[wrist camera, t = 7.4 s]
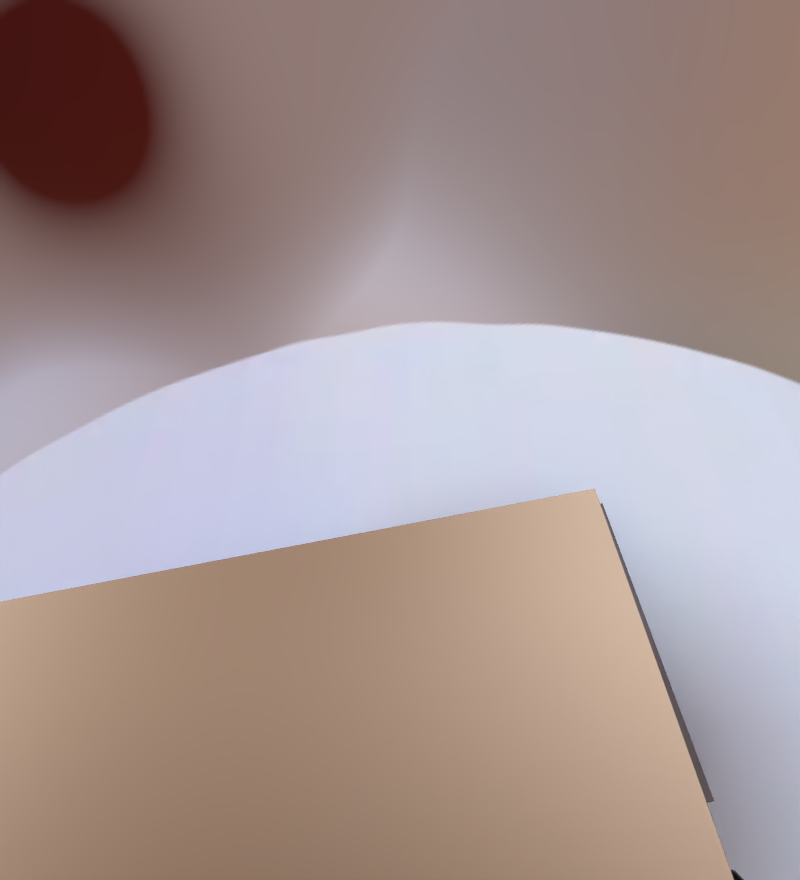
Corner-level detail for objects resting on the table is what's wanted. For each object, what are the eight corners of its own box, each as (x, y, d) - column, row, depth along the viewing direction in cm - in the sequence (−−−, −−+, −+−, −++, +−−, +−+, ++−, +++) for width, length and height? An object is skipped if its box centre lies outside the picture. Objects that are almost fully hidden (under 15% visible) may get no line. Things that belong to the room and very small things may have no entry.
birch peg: (471, 612, 15) (595, 489, 3) (508, 780, 13) (1218, 2237, 1) (333, 639, 15) (-109, 621, 3) (351, 809, 13) (-591, 2546, 1)
